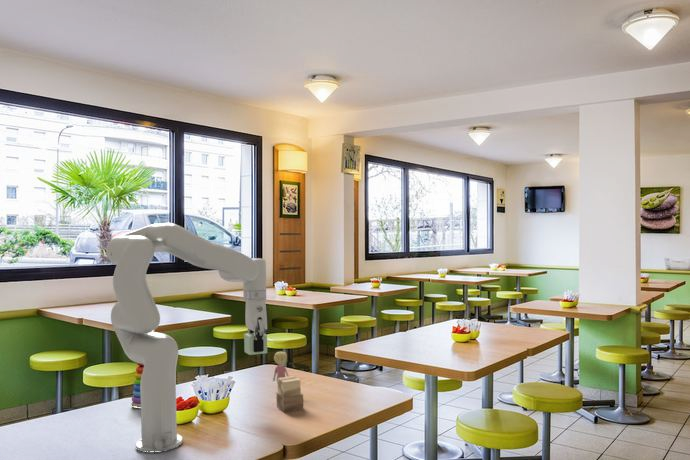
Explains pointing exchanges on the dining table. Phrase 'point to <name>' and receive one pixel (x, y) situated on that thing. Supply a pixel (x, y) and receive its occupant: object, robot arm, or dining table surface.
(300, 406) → the tower base
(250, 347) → the green cube
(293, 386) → the tower top
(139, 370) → the stacking toy
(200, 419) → the dining table surface
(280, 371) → the toy
